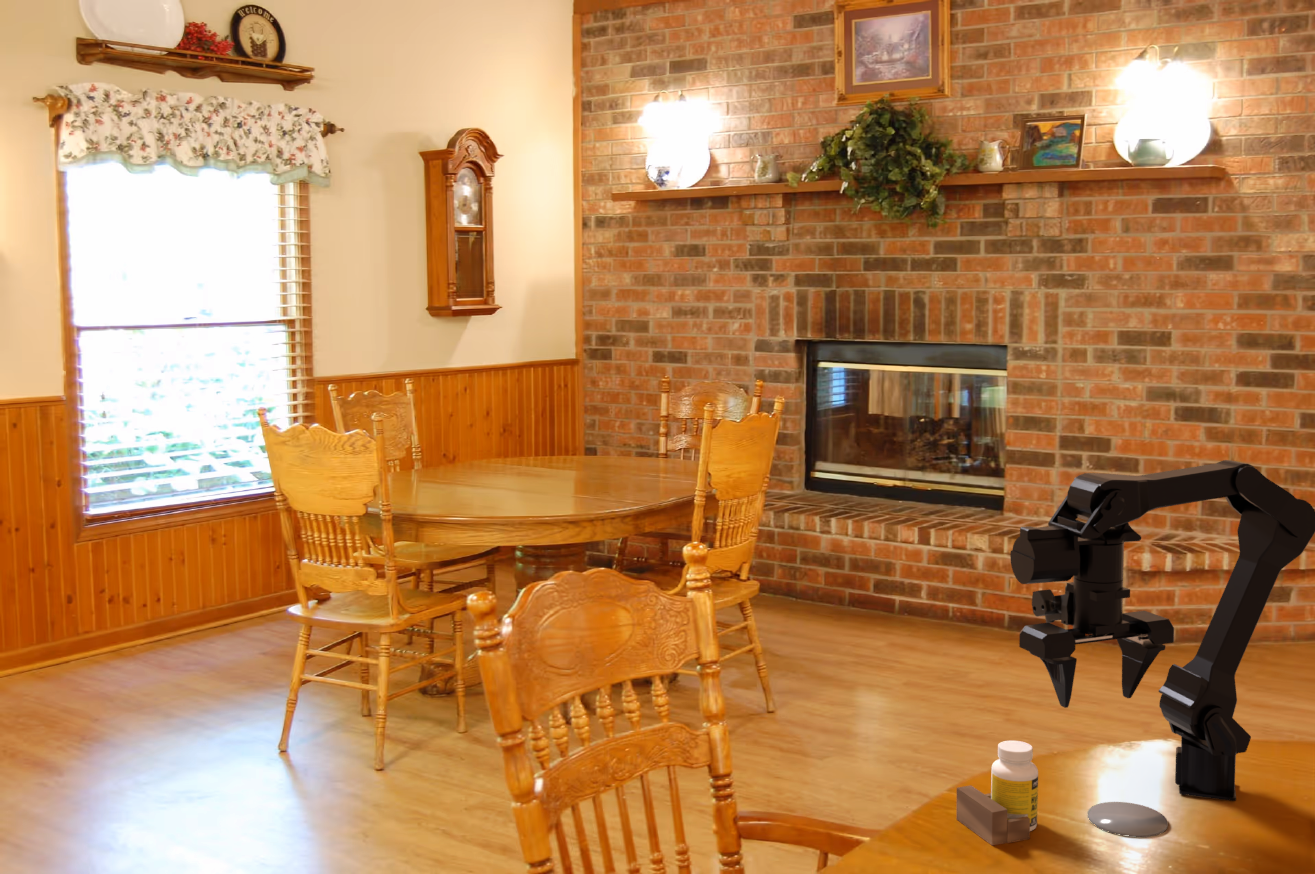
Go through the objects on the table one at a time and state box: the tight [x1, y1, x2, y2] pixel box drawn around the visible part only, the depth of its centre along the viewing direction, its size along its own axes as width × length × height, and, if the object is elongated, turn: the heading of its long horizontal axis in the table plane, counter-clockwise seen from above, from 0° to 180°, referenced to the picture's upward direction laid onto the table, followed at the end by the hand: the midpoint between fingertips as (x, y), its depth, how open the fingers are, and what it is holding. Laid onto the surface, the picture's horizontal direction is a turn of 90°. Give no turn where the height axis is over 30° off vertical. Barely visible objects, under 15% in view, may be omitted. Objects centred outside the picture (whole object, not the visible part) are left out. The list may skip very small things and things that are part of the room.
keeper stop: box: [956, 785, 1031, 846], centre depth 147 cm, size 5×8×4 cm, turn 18°
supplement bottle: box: [990, 740, 1039, 832], centre depth 148 cm, size 5×5×10 cm
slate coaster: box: [1087, 801, 1168, 838], centre depth 149 cm, size 9×9×1 cm
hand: (1095, 701), depth 152 cm, fingers open, 9 cm apart
